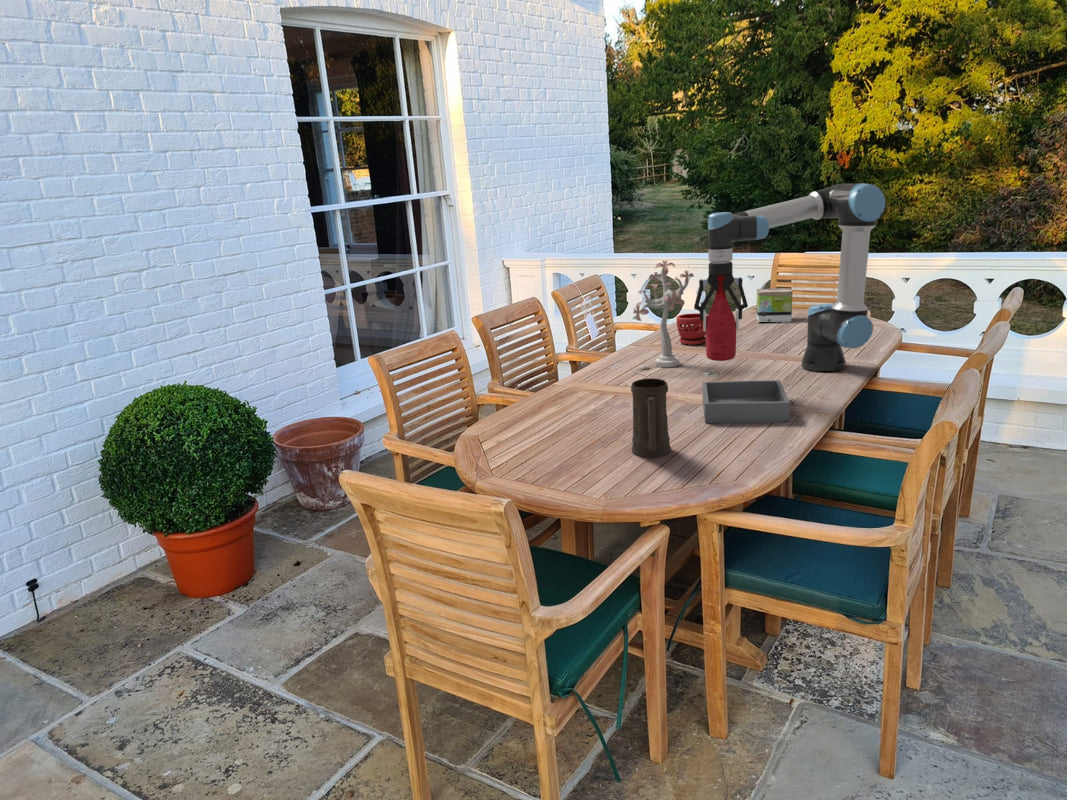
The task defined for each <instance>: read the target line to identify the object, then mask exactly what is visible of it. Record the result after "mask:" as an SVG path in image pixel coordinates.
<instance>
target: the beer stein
mask: <svg viewBox="0 0 1067 800" xmlns="http://www.w3.org/2000/svg"><path fill="white" fill-rule="evenodd" d="M630 392H631V393H632V438H631V441H632V442H631V443H632V445H631V453H633V454H634V455H636V456H638V457H644V458H657V457H662V456H666V455H668V454H670V452H671V450H672V448H671V444H670V439H671V438H670V435H669V425H668V423H669V422H668V414H667V393H668V392H669V387H668V382H666V380H664V379H660V378H642V379H641V378H640V379H637V380H634V381H633V382H632V383H631V388H630Z"/></svg>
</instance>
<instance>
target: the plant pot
mask: <svg viewBox="0 0 1067 800" xmlns="http://www.w3.org/2000/svg"><path fill="white" fill-rule="evenodd" d="M707 317H708V314H707V313H706V321H707ZM676 329H677V332H678V335H679V336H680V337H679V342H680V343H681V344H683V345H687V344H688V345H689V346H690V345H691V346H692V345H693V346H694V345H695V346H696V345H702V344H704V343H706V331H704V330H703V321H700V312H699V313H698V312H697V313H696V312H695V313H694V312H693V313H692V312H691V313H684V314H679V315H677V316H676Z"/></svg>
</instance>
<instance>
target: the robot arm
mask: <svg viewBox="0 0 1067 800" xmlns="http://www.w3.org/2000/svg"><path fill="white" fill-rule="evenodd" d="M885 198H886V197H885V195H884V192H883V191H882V190H881V189H880V188H879V187H878V186H876V185H875V184H869V183H864V182H863V183H839V184H834V185H832V186H829V187H826V188H823V189H819V190H815V191H811V192H810V193H809V195H806V196H802V197H798V198H795V199H791V200H787V201H781V202H778V203H773V204H769V205H765V206H762V207H758V208H753V209H749V210H745V211H741V212H736V213H732V212H730V211H729V212H728V211H725V212H722V211H721V212H712V213H710V214H709V215H708V220H707V223H708V224H707V230H708V231H707V234H708V238H707V239H708V251H707V252H708V261H709V263H708V277H707V278H704V279H702V278H700V279H699V280H698V283H699V285H698V290H697V294H696V298H695V302H694V306H693V309H694V310H695V311H698V312H699V313H700V321H703V330H704V331H706V314H707V311H706V309H705V308H706V306H707V305H708V303H709V301H710V299H711V297H712V295H713V294H715V292H716V291H718V287H719V282H718V281H717V275H724V279H725V280H724V281H723V284H722V285H723V289H724V291H725V292H726V291H727V293H728V294H729V295H730V297H731V299H732V300H733V302H734V304H735V305H736V307H737V308H735V322H736V331H739V330H740V329H739V328H740V327H739V323H740V321H739V320H743V310H744V309H747V308H748V307H749V305H748V301H747V297H746V294H745V291H744V288H743V278H742V277H734V276H733V274H734V273H733V267H734V266H733V262H732V261H733V247H734V246H733V243H735V242H736V243H737V242H743V241H747V242H748V241H757V240H763V239H765V238H767V236H768V234H769V232H770V229H771V228H772V229H773V228H775V227H776V228H777V227H780V226H785V225H789V224H793V223H797V222H802V221H806V220H809V219H813V220H816V221H818V220H823V219H838V220H837V221H838V222H837V226H838V227H839V229H840V230H841V231H842V234H841V247H840V257H839V259H840V260H839V268H838V279H837V280H838V281H837V282H838V283H837V294H836V302H835V303H822V304H814V305H811V306H810V307H809V308H808V311H807V316H806V317H807V333H806V334H807V337H806V338H807V340H806V341H807V343H806V345H807V346H806V349H805V350H804V354H803V356H802V359H801V368H802V367H803V368H804V369H803V368H802V369H803V370H806V369H807V370H806V371H810V370H812V371H811V372H816V371H834V372H837V371H836V370H840V371H842V370H841V369H843V368H845V367H846V365H847V361H846V357H845V355H844V352H843V348H845V349H846V348H847V349H858V348H861V347H863V346H864V345H865V344H866V343H867V342H868V341H870V339H871V337H872V334H873V331H874V326H873V321H871V319H870V318H869V317H868V310H869V307H868V306H867V305H865V303H864V301H865V290H866V282H867V281H866V280H867V270H868V258H869V251H870V250H869V249H870V236H871V231H872V230H873V229H874V228H876V226H877V219H879V218H880V217H881V215H882V214H884V212H885V207H886V199H885ZM733 283H735V284H736V285H737V286H738V291H739V293H740V297H741V302H742V304H741V302H740V301H739V300H738V298H737V296H736V294H735V292H734V291H733V289H732V288H731V285H732V284H733ZM707 284H708V285H709V286H710V288H709V289H708V290H709V291H708V292H707V294H706V296H705V298H704V299H703V301H702V302H701V298H702V294H703V290H704V287H705V286H706V285H707ZM700 302H701V304H700ZM846 368H847V367H846ZM846 368H845V369H846ZM843 370H844V369H843Z"/></svg>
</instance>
